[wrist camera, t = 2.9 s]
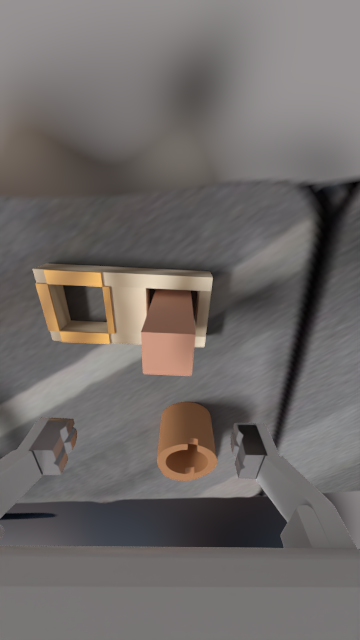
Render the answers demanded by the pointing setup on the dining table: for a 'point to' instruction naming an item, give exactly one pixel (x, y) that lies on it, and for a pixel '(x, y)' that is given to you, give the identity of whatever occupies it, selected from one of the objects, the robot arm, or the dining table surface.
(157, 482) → the dining table surface
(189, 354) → the terracotta peg
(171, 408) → the bracket
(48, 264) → the peg board
